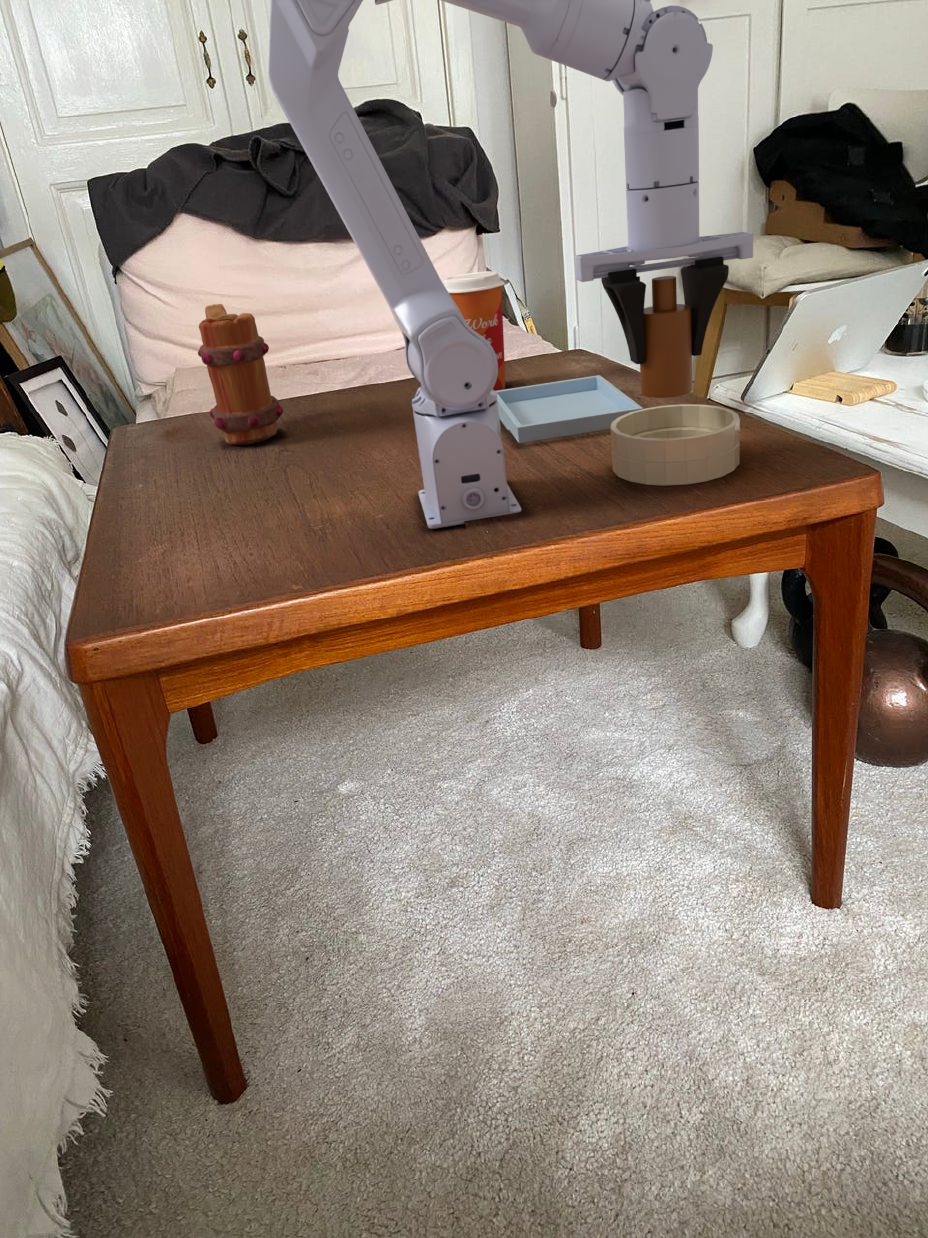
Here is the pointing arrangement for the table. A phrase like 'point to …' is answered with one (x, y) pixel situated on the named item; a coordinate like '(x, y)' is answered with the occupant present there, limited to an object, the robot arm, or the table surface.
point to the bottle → (666, 343)
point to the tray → (562, 408)
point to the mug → (238, 376)
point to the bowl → (675, 444)
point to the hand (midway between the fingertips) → (666, 357)
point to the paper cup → (482, 310)
